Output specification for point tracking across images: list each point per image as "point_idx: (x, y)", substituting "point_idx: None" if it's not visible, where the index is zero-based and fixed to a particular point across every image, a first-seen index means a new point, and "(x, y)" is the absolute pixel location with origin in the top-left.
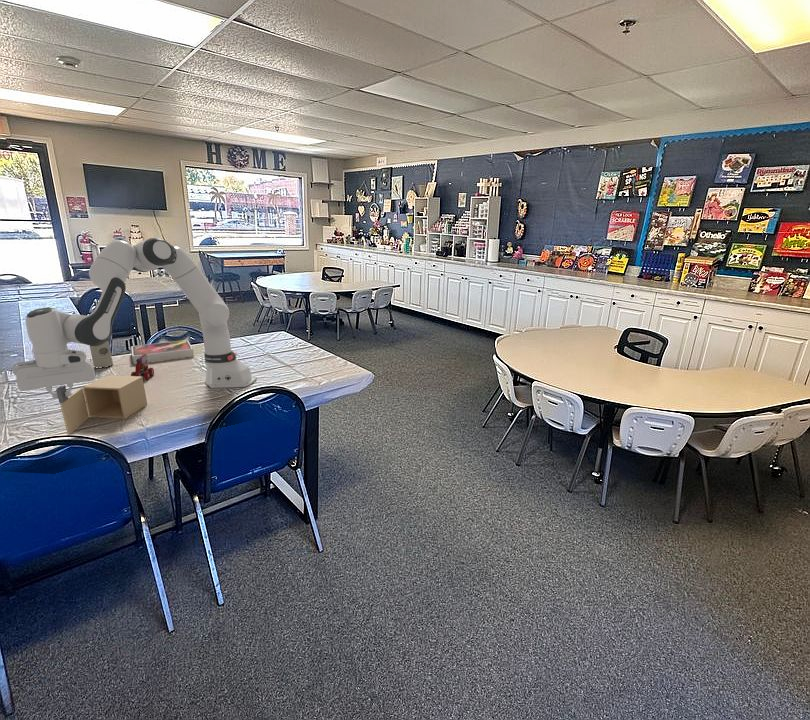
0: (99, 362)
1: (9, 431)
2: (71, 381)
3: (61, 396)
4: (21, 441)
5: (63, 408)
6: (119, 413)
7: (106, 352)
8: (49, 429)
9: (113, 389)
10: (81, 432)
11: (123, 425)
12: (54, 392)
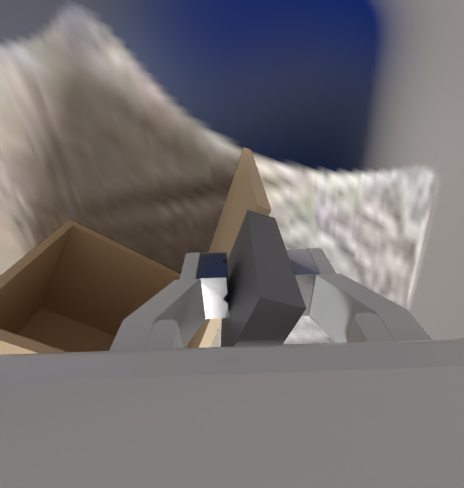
0: None
1: (409, 275)
2: (61, 383)
3: (255, 239)
4: (397, 174)
5: (252, 190)
6: (100, 262)
7: None
8: (309, 239)
9: (5, 331)
10: (204, 154)
11: (49, 147)
12: (313, 305)
